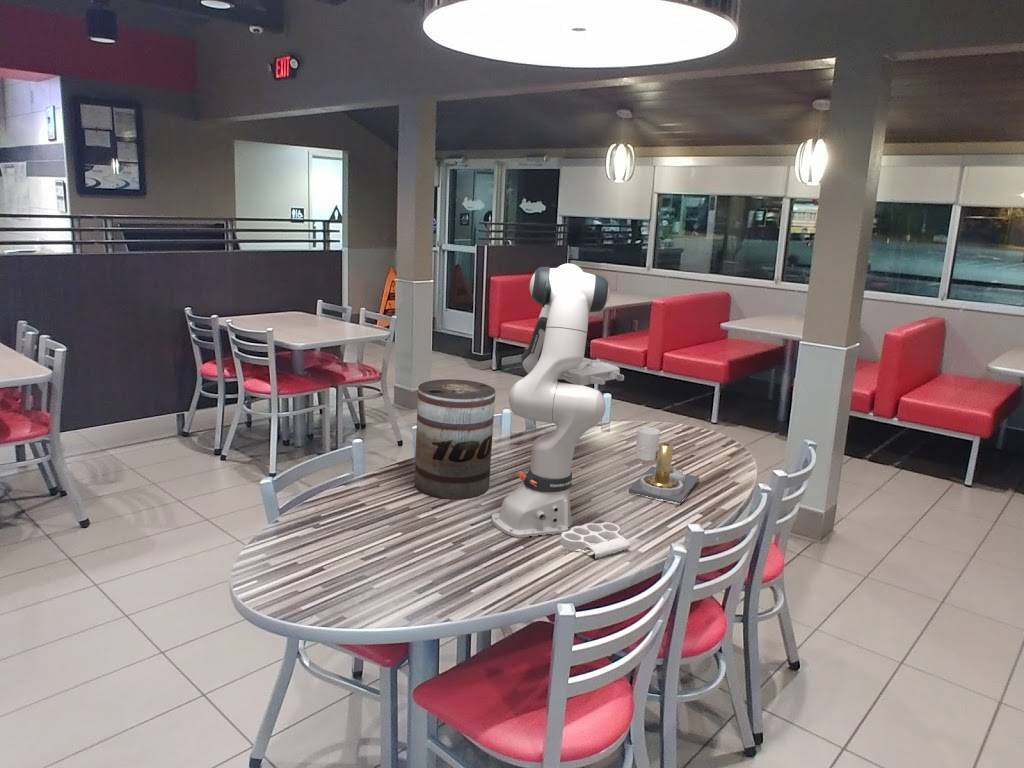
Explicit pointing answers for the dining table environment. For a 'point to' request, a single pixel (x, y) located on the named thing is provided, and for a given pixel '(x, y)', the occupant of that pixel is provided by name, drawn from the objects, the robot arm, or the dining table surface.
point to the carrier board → (670, 498)
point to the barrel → (454, 438)
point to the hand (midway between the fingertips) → (613, 380)
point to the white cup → (647, 443)
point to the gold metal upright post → (663, 467)
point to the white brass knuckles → (595, 538)
